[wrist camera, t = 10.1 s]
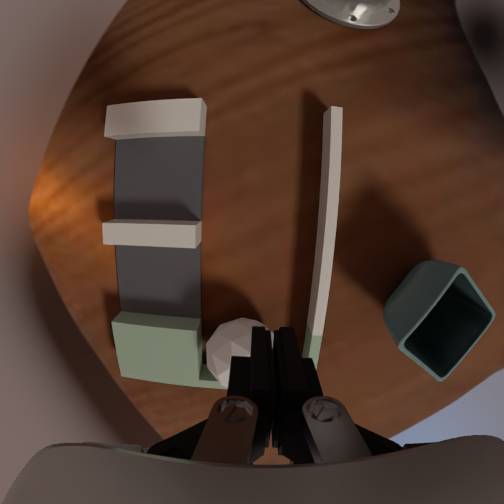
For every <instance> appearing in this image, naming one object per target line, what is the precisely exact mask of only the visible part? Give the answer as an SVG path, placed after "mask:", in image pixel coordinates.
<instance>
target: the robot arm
mask: <svg viewBox="0 0 504 504" xmlns="http://www.w3.org/2000/svg"><path fill="white" fill-rule="evenodd" d="M302 1H303V2H304V3H305V4H306V5H307V6H308V7H309V8H310V9H312V10H313V11H315V12H316V13H318V14H319V15H321V16H322V17H325V18H327V19H329V20H330V21H333V22H335V23H338V24H341V25H344V26H348V27H352V28H359V29H375V28H379V27H383V26H385V25H387V24H389V23H390V22H391V21H392V20H393V19H394V18H395V17H396V16H397V14H398V12H399V9H400V0H302ZM271 431H272V446H273V447H278V455H284V456H285V457H287V458H288V459H290V464H289V465H253V462H254V461H255V460H257V459H258V458H260V457H261V456H263V455H264V450H265V447H268V446H269V440H270V433H271ZM2 504H504V441H503V440H501V439H500V438H497V437H494V436H488V435H472V436H463V437H457V438H452V439H448V440H444V441H440V442H432V443H415V444H405V445H404V446H403V447H401V446H400V445H399V444H397V443H395V442H394V441H391V440H389V439H387V438H385V437H382V436H380V435H378V434H376V433H374V432H371V431H369V430H367V429H365V428H363V427H361V426H359V425H357V424H355V423H354V422H353V420H352V419H351V417H350V415H349V413H348V412H347V410H346V408H345V407H344V405H343V404H342V403H341V402H340V401H338V400H337V399H334V398H332V397H327V396H323V393H322V389H321V386H320V382H319V379H318V375H317V372H316V368H315V365H314V362H313V359H312V358H301V357H300V353H299V349H298V345H297V340H296V336H295V332H294V328H293V327H280V328H279V330H274V338H273V348H272V340H271V330H266V328H265V327H264V326H252V335H251V353H250V357H246V356H232V357H231V365H230V373H229V382H228V390H227V396H226V397H223V398H220V399H219V400H218V401H216V402H215V404H214V405H213V407H212V409H211V412H210V414H209V417H208V419H206V420H204V421H202V422H200V423H198V424H196V425H194V426H192V427H190V428H188V429H186V430H184V431H182V432H180V433H178V434H176V435H174V436H172V437H170V438H167V439H165V440H163V441H161V442H159V443H156V444H155V445H153V446H152V447H150V448H142V446H141V445H121V444H120V445H119V444H107V443H96V442H83V443H59V444H53V445H50V446H47V447H45V448H43V449H41V450H40V451H39V452H37V453H36V454H35V455H34V456H33V457H32V458H31V459H30V460H29V462H28V463H27V464H26V465H25V467H24V468H23V469H22V471H21V472H20V473H19V475H18V477H17V478H16V480H15V481H14V483H13V484H12V487H11V488H10V489H9V491H8V493H7V494H6V496H5V498H4V500H3V502H2Z"/></svg>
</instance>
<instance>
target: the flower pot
mask: <svg viewBox="0 0 504 504" xmlns="http://www.w3.org/2000/svg"><path fill="white" fill-rule="evenodd" d="M495 316H496V314H495V312H494V310H493V309H492V307H491V306H490V304H489V303H488V301H487V300H486V298H485V297H484V296H483V294H482V293H481V291H480V290H479V288H478V287H477V285H476V284H475V283H474V281H473V280H472V278H471V277H470V275H469V274H468V272H467V271H466V269H465V268H464V267H462V266H458V265H455V264H451V263H447V262H443V261H438V260H426V261H423V262H421V263H419V264H418V265H416V266H415V267H414V268H413V269H412V270H411V271H410V272H409V273H408V275H407V276H406V277H405V279H404V280H403V281H402V282H401V284H400V285H399V286H398V287H397V289H396V290H395V291H394V292H393V293H392V295H391V296H390V297H389V298H388V300H387V302H386V304H385V306H384V311H383V317H384V321H385V324H386V326H387V328H388V330H389V332H390V334H391V335H392V337H393V339H394V341H395V343H396V345H397V347H398V348H399V350H400V351H402V352H403V353H404V354H406V355H407V356H408V357H409V358H411V359H412V360H413V361H415V362H416V363H417V364H418V365H420V366H421V367H422V368H423V369H424V370H426V371H427V372H428V373H429V374H431V375H432V376H433V377H434V378H435V379H436V380H438V381H439V382H442V381H443V380H444V379H445V378H447V377H448V376H449V375H450V374H451V372H452V371H453V370H454V369H455V368H456V367H457V365H458V364H459V363H460V362H461V361H462V359H463V358H464V357H465V356H466V355H467V354H468V352H469V351H470V350H471V349H472V347H473V346H474V345H475V344H476V343H477V341H478V340H479V339H480V338H481V336H482V335H483V334H484V332H485V331H486V330H487V328H488V327H489V326H490V324H491V323H492V321H493V320H494V318H495Z"/></svg>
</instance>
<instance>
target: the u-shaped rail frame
mask: <svg viewBox="0 0 504 504" xmlns="http://www.w3.org/2000/svg"><path fill="white" fill-rule="evenodd" d="M206 111H207V106H206V104H205V103H204V101H203V99H202V98H188V99H167V100H153V101H142V102H132V103H123V104H115V105H108V106H107V111H106V121H105V133H104V137H108V138H112V139H116V155H115V184H114V215H115V219H113V220H110V221H107V222H104V223H102V226H103V244H110V245H116V262H117V275H118V286H119V296H120V305H121V312H120V313H119V314H118V315H117V316H116V317H115V318H114V319H113V320H112V321H111V323H112V329H113V335H114V341H115V347H116V352H117V357H118V362H119V367H120V372H121V376H124V377H129V378H135V379H141V380H147V381H154V382H161V383H168V384H176V385H185V386H194V387H205V388H217V389H228V387H224V386H222V385H221V384H220V383H219V382H218V380H217V379H216V378H215V377H214V375H213V374H212V373H211V372H210V370H209V369H208V368H207V364H203V356H202V323H201V220H202V185H203V162H204V142H205V125H206ZM341 147H342V108H341V107H335V106H331V107H330V108H329V109H328V110H326V111H325V112H324V113H323V143H322V166H321V184H320V199H319V213H318V225H317V237H316V248H315V258H314V268H313V277H312V286H311V295H310V303H309V311H308V318H307V326H306V333H305V340H304V347H303V354H302V358H312V359H313V362H314V365H315V368H316V367H317V362H318V357H319V351H320V346H321V340H322V334H323V328H324V322H325V315H326V308H327V302H328V295H329V287H330V280H331V272H332V263H333V255H334V245H335V236H336V225H337V214H338V201H339V187H340V170H341Z"/></svg>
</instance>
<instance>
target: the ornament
mask: <svg viewBox="0 0 504 504" xmlns="http://www.w3.org/2000/svg"><path fill="white" fill-rule="evenodd" d="M252 326H264V327H265V328H266V330H270V329H269V328H267V327H266V326H265V325H264V324H263V323H261V322H259V321H257V320H252V319H247V318H239V319H236V320H233V321H230V322H227V323H223V324H220V325H219V327H218V328H217V329H216V331H215V332H214V334H213V335H212V336H211V338H210V339H209V341H208V342H207V343H206V350H207V368H208V369H209V370H210V372H211V373H212V374H213V375H214V377H215V378H216V379H217V380H218V382H219V383H220V384H221V385H222V386H224V387H228V382H229V373H230V365H231V357H232V356H246V357H250V353H251V335H252ZM273 338H274V333H273V332H272V331H271V340H272V348H273Z"/></svg>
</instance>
